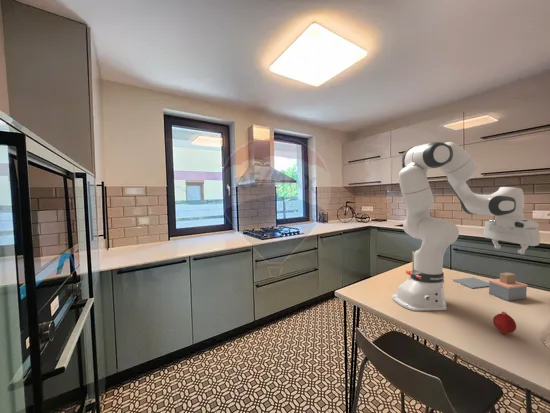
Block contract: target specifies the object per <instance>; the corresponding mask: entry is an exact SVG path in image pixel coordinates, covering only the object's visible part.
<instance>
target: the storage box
mask: <svg viewBox="0 0 550 413" xmlns="http://www.w3.org/2000/svg"><path fill="white" fill-rule="evenodd" d="M488 283H489V287H488V294H489V295H491V296H493V295H494V297H497V298H499V299H501V300H503V301H506V302H514V301H521V300H527V289H528V286H527V287H519V288H511V289H508V288H505V287H502V286H500V285H497V284H494V283H491V282H489V281H488Z"/></svg>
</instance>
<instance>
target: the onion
mask: <svg viewBox="0 0 550 413" xmlns="http://www.w3.org/2000/svg"><path fill="white" fill-rule="evenodd" d="M492 322H493V325H494V327H495V328H496V329H497V330H498V331H499V332H500V333H502V334H504V335H508V334H509V335H510V334H512V333H514V332H515V331H516V329H517V323H516V320H514V318H512V316H511V315H509V314H508V313H507V312H506V311H501V313H497V314H495V316H493V318H492Z"/></svg>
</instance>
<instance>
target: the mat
mask: <svg viewBox="0 0 550 413" xmlns="http://www.w3.org/2000/svg"><path fill="white" fill-rule="evenodd" d="M452 280H453V281H452V282H455V283H457V284H459V283H460V285H461V286H465V287H467V288H470V289H472V290H473V289H481V288H489V281H485V280H482V279H479V278H477V277H466V278H465V277H464V278H455V279H452Z"/></svg>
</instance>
